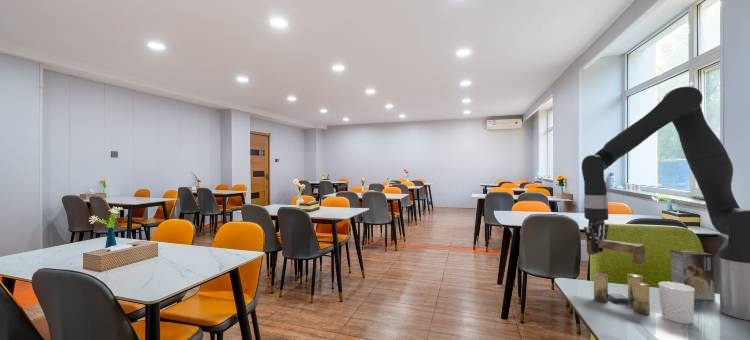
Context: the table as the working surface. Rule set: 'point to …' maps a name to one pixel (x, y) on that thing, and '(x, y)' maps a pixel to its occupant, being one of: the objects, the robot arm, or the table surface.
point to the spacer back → (641, 298)
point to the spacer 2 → (632, 279)
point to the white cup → (677, 302)
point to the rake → (622, 249)
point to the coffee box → (694, 272)
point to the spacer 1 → (600, 287)
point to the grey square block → (618, 298)
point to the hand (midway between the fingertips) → (597, 251)
